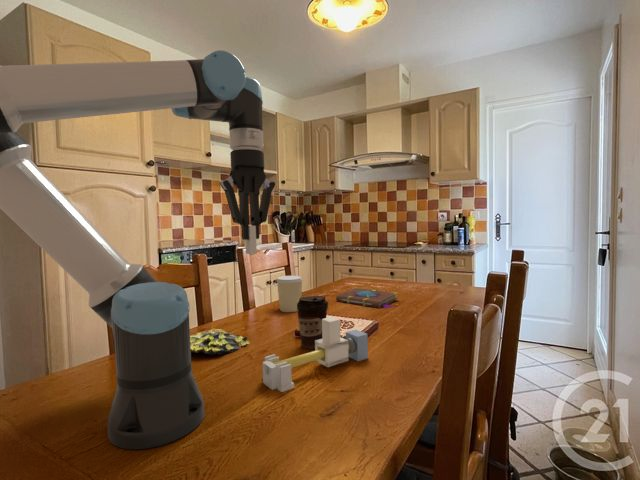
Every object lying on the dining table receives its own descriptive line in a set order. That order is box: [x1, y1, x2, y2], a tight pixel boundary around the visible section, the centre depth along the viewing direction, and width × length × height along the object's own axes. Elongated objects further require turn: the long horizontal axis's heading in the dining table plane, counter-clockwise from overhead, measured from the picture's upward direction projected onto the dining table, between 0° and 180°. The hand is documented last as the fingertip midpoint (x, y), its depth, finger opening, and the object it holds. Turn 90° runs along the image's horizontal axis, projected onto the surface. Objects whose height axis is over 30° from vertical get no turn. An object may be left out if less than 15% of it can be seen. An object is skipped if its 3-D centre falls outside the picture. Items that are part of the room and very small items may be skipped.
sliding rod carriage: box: [314, 316, 350, 368], centre depth 84 cm, size 6×5×10 cm
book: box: [335, 286, 400, 309], centre depth 144 cm, size 16×25×5 cm, turn 50°
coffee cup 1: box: [276, 275, 303, 313], centre depth 135 cm, size 9×9×12 cm
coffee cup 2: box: [297, 295, 329, 350], centre depth 97 cm, size 9×8×13 cm
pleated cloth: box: [190, 327, 251, 356], centre depth 100 cm, size 20×16×6 cm
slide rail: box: [262, 329, 369, 393], centre depth 82 cm, size 26×8×6 cm, turn 125°
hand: (251, 253), depth 85 cm, fingers closed
